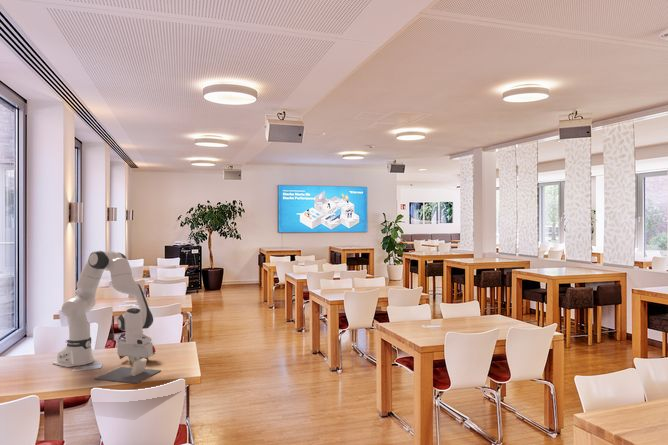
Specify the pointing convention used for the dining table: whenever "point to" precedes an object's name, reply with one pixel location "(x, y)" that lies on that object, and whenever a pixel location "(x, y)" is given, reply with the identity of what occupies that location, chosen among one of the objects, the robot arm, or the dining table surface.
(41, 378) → the dining table surface
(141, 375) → the mat
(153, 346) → the toy
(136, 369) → the cream tile
